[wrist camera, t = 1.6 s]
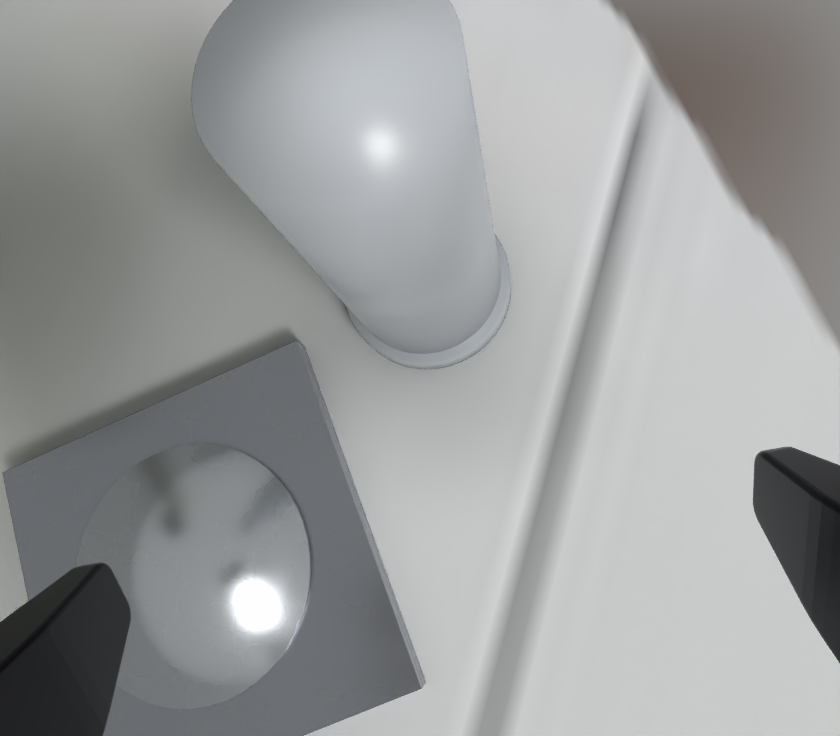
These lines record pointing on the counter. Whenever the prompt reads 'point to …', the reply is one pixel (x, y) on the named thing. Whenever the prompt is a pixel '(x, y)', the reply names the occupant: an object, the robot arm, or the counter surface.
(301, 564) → the flange plate
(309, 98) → the grey cylinder
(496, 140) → the counter surface
